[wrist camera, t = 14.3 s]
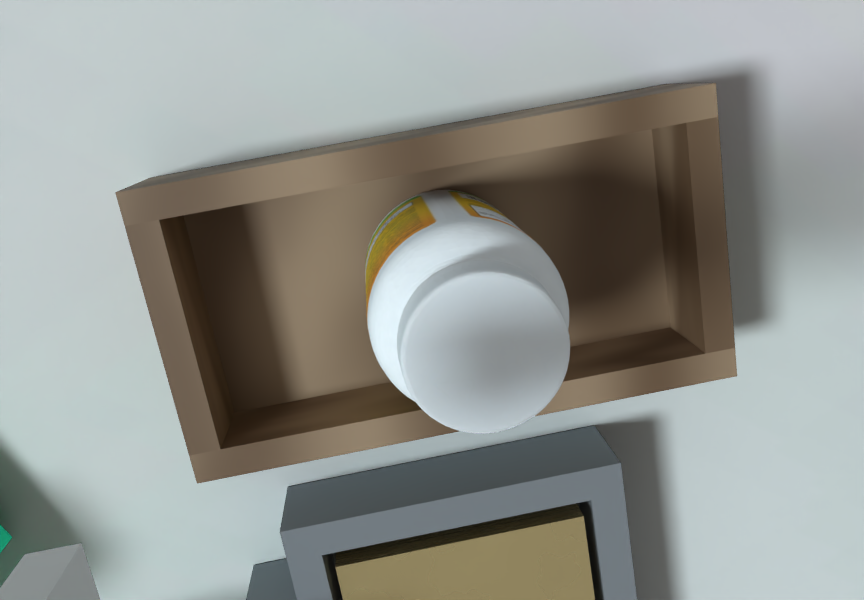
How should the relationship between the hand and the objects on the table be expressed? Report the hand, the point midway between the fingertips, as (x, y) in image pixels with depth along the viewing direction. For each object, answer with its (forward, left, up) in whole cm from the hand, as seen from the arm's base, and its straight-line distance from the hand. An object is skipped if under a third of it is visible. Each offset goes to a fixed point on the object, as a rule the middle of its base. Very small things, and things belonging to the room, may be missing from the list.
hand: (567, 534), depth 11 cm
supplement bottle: (0, 0, -17) cm, 17 cm away
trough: (0, 0, -18) cm, 18 cm away
